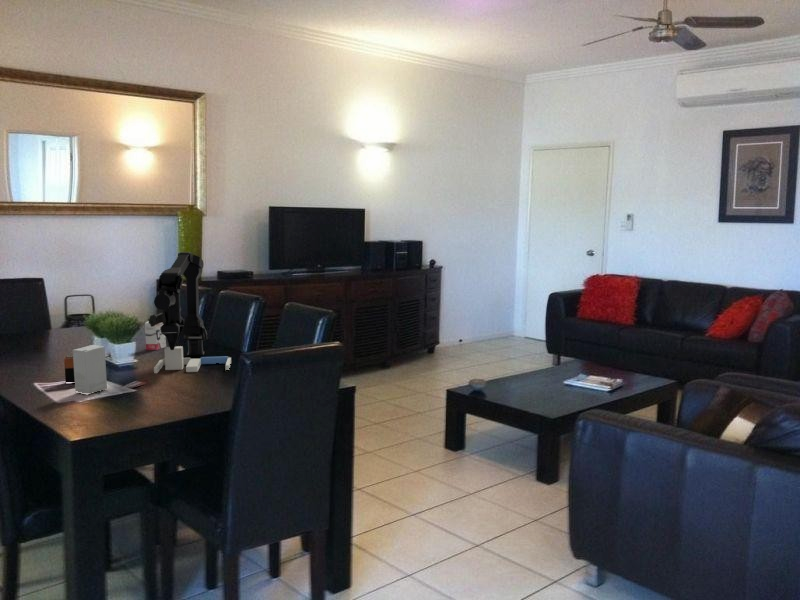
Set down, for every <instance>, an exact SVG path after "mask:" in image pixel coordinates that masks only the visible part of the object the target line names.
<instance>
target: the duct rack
mask: <svg viewBox="0 0 800 600" xmlns="http://www.w3.org/2000/svg"><path fill="white" fill-rule="evenodd" d="M216 363H219V364H225V371H226V370H229V371H230V369H229V368H231V365H230V364H232V356H231V357H230V356H228V355H227V356H226V355H225V356H222V355H221V356H201V357H200V358H191V357H183V365H184V366H185V365H186V366H185V372H186V373H197V372H198V371H199V369H200V367H201V365H215V364H216ZM216 365H217V364H216ZM163 366H165V357H164V358H162V359H159V361H158V362H157V363H156V365H155V366H154V367H153V373H154V374H158V373H159V372H160V370H161V369H162V368H163Z"/></svg>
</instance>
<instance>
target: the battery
mask: <svg viewBox="0 0 800 600" xmlns="http://www.w3.org/2000/svg"><path fill="white" fill-rule="evenodd" d="M63 360H64V361H63V362H64V377H65V383H66V382H75V377H74V362H73V353H72V354H70V353H69V354H66V356H65V357H64V359H63Z"/></svg>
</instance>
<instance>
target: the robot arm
mask: <svg viewBox="0 0 800 600" xmlns="http://www.w3.org/2000/svg"><path fill="white" fill-rule="evenodd" d="M203 268H204V260H203V258H201V256H198V255H196V254H193V252H190V251H187V252H186V251H184V252H183V251H181V252H178V254H177V257H176V258H175V260H174V261H173V264H172V265H171V266H170V268H167V269H165V270H164V271H162V272H161V274H160V275H159V278H158V283H157V287H156V292H158V294H157V295H156V296H155V297H154V301H153V302H154V306H155V308H157V309H158V310H161V312H160V313H157V314H155V313H154V314H152V315H149V317H148V318H147V322H148V321H149V324H150V325H151V327H153V326H155V325H157V324H159V323H162V322H163V325H162V326H161V333H162V334H163V335H165V336H166V340H167V342H168V343H167V344H168V345H169V346H168V347H170V350H174V348H175V346H177V345H178V344H179V341H180V338H181V335H182V340H183V341H187V349H188V350H187V354H186V356H187V357H192V356H193V357H194V356H195V357H197V356H204V355H205V350H204V346H203V345H204V344H203V342H204V341H207V340H208V332H207V330H206V327H205V325H204V320H203V319H202V318H201V316H200V305H199V303H200V302H199V301H200V298H199V297H200V295H199V279H200V277H201V275H202V274H203V270H204V269H203ZM183 277H184V278H185V280H186V283H185V284H186V287H185V289H186V317H182V316H181V313H182V312H181V311H182V307H181V294H180V293H181V290H182V288H183V282H184V278H183Z"/></svg>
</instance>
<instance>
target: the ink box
mask: <svg viewBox="0 0 800 600" xmlns="http://www.w3.org/2000/svg"><path fill="white" fill-rule="evenodd" d="M162 325H163V322H162V323H159V324H157V325H155V326H153V327H151V325H150V324H149V321H148V320H147V321H146V322H145V323H144V333H145V350H146V351H157V350H161V349H163V348H164V349H165V348H166V347H167V341H166V340H167V337H166V336H165V335H163V334H162V333H161V326H162Z"/></svg>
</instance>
